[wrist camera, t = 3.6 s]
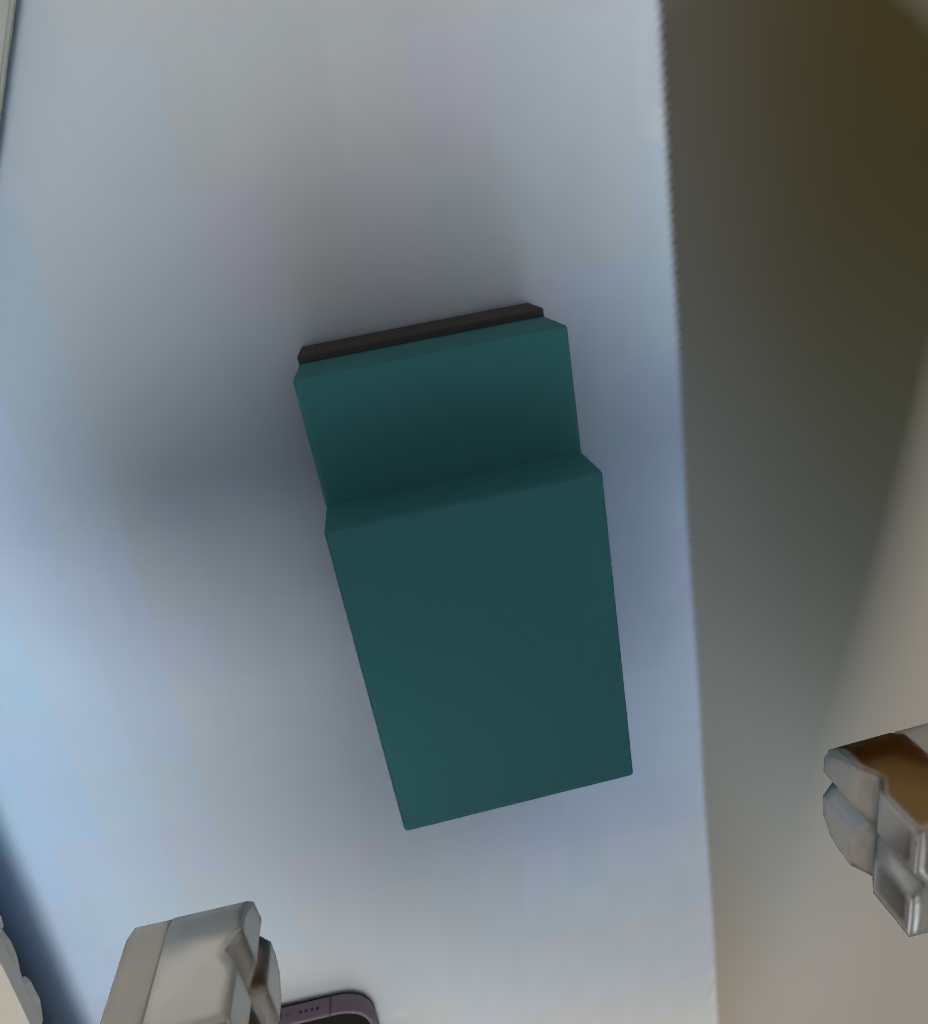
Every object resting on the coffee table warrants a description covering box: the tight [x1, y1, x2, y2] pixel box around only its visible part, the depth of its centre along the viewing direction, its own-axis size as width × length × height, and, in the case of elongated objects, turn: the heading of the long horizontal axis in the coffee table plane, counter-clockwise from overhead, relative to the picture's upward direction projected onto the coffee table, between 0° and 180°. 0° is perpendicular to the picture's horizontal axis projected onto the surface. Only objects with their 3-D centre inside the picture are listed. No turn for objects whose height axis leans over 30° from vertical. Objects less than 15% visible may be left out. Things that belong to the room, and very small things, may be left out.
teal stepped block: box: [294, 303, 633, 830], centre depth 18 cm, size 12×6×5 cm, turn 10°
